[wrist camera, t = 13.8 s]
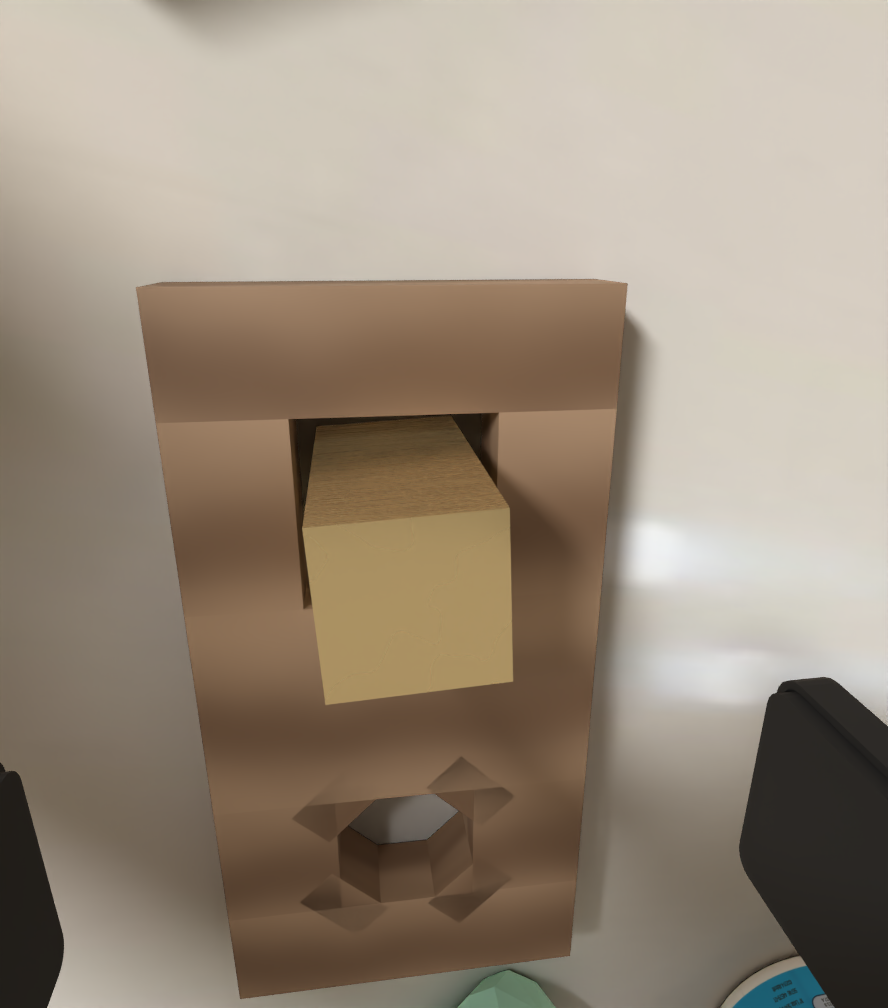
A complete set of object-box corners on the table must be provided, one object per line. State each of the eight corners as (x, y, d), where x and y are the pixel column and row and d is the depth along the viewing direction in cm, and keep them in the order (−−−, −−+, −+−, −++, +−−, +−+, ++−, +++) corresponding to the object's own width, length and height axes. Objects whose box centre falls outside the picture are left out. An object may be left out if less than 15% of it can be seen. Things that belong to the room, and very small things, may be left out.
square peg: (316, 426, 21) (302, 528, 13) (450, 415, 21) (510, 508, 14) (331, 550, 22) (325, 704, 15) (456, 537, 23) (513, 681, 15)
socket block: (161, 282, 19) (136, 287, 16) (594, 279, 20) (627, 283, 18) (248, 934, 27) (240, 999, 25) (551, 898, 29) (570, 955, 26)
